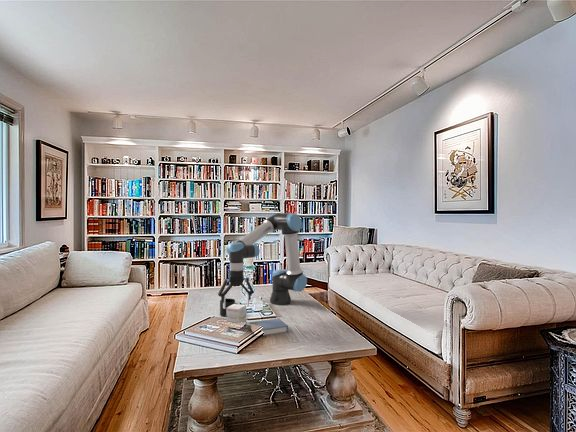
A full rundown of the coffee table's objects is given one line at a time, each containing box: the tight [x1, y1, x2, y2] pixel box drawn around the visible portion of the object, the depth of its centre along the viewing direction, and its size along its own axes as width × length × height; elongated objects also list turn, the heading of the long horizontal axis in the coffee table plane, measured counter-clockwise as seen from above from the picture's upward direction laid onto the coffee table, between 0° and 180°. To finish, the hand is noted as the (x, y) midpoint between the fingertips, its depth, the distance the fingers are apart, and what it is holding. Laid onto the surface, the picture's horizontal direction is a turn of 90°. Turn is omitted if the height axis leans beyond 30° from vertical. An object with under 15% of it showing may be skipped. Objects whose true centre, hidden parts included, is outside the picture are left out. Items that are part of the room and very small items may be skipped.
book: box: [249, 317, 289, 337], centre depth 178 cm, size 18×13×4 cm
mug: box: [219, 298, 238, 318], centre depth 203 cm, size 9×12×9 cm
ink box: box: [226, 303, 247, 323], centre depth 183 cm, size 9×8×12 cm
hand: (236, 307), depth 182 cm, fingers open, 13 cm apart
